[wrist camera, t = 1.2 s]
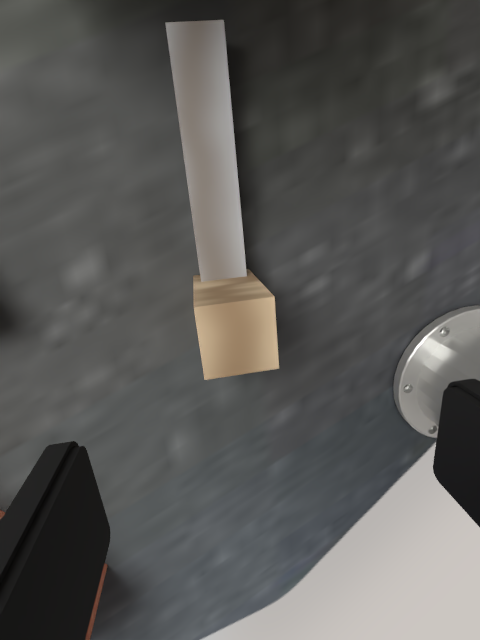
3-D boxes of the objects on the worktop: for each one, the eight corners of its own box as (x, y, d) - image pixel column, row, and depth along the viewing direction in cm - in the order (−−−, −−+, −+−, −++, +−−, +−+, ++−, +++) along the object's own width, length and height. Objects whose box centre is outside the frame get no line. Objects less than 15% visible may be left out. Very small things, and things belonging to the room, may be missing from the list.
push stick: (228, 41, 19) (251, -67, 12) (253, 320, 25) (278, 368, 17) (159, 45, 19) (138, -64, 11) (200, 327, 25) (204, 379, 17)
